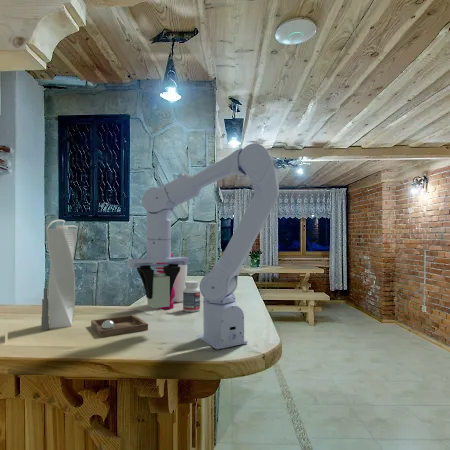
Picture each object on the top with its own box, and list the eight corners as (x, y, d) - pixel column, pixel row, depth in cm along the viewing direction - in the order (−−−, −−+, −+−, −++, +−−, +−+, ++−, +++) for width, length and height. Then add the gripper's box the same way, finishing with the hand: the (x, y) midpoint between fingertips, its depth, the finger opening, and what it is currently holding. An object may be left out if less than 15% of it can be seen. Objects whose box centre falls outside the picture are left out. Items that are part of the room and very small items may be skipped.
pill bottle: (197, 312, 104) (197, 283, 105) (180, 311, 105) (180, 282, 106) (202, 308, 110) (202, 280, 110) (186, 308, 111) (186, 280, 111)
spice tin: (169, 306, 82) (169, 273, 82) (153, 308, 79) (153, 275, 80) (163, 303, 85) (163, 272, 85) (147, 305, 83) (147, 273, 83)
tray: (148, 332, 84) (148, 324, 84) (100, 339, 78) (101, 331, 78) (134, 322, 93) (134, 314, 93) (91, 328, 88) (91, 320, 88)
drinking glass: (191, 300, 122) (191, 258, 123) (178, 304, 117) (178, 259, 117) (176, 298, 126) (176, 257, 126) (163, 301, 120) (163, 258, 121)
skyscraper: (43, 326, 91) (44, 219, 92) (77, 322, 94) (77, 219, 95) (40, 334, 83) (41, 218, 84) (77, 330, 87) (77, 218, 87)
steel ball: (116, 333, 81) (116, 320, 81) (103, 335, 79) (103, 322, 80) (113, 330, 84) (113, 318, 84) (100, 332, 82) (100, 319, 82)
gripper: (179, 238, 90) (179, 291, 89) (123, 239, 82) (123, 297, 82) (192, 239, 84) (191, 296, 83) (132, 240, 76) (132, 302, 76)
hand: (158, 297), depth 82 cm, fingers closed on spice tin, 4 cm apart
